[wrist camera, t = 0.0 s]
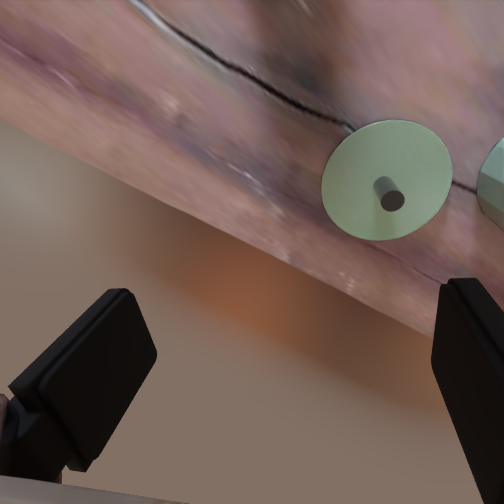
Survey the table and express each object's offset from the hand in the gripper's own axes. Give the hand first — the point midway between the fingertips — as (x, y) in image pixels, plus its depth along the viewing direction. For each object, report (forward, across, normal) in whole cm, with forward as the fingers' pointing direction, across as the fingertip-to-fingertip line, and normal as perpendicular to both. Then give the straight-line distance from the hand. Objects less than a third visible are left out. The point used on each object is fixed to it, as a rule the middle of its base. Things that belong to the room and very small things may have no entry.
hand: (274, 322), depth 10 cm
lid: (+36, -9, +7) cm, 38 cm away
